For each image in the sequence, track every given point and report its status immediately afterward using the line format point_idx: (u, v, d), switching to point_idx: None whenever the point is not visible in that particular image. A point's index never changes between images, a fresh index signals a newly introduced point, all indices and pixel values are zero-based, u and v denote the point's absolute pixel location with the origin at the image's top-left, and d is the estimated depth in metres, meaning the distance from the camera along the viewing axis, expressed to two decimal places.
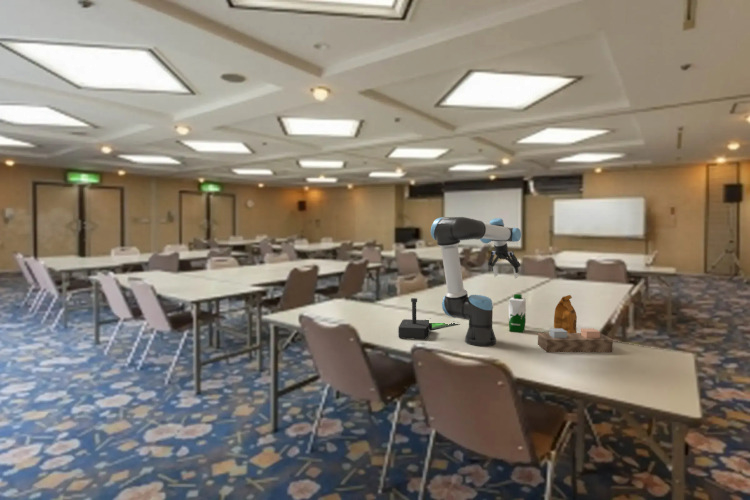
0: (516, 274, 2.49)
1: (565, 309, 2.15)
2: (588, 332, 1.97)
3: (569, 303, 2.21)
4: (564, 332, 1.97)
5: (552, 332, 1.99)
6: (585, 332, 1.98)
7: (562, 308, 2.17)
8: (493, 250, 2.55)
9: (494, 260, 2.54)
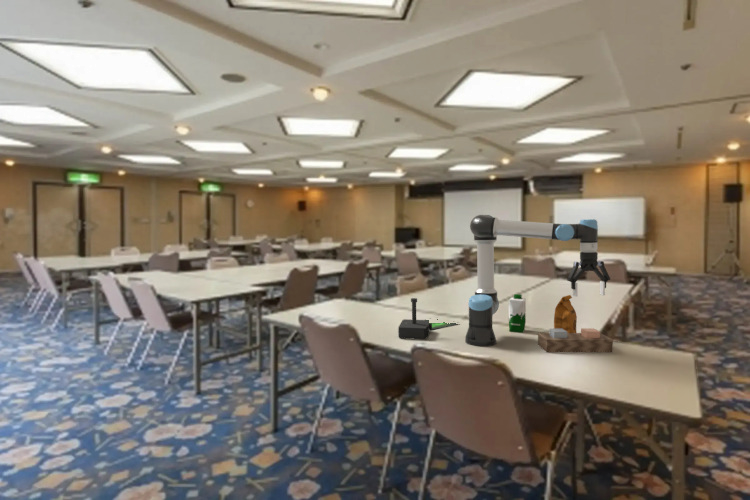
0: (574, 291, 2.01)
1: (565, 309, 2.15)
2: (588, 332, 1.97)
3: (569, 303, 2.21)
4: (564, 332, 1.97)
5: (552, 332, 1.99)
6: (585, 332, 1.98)
7: (562, 308, 2.17)
8: (602, 261, 2.00)
9: None
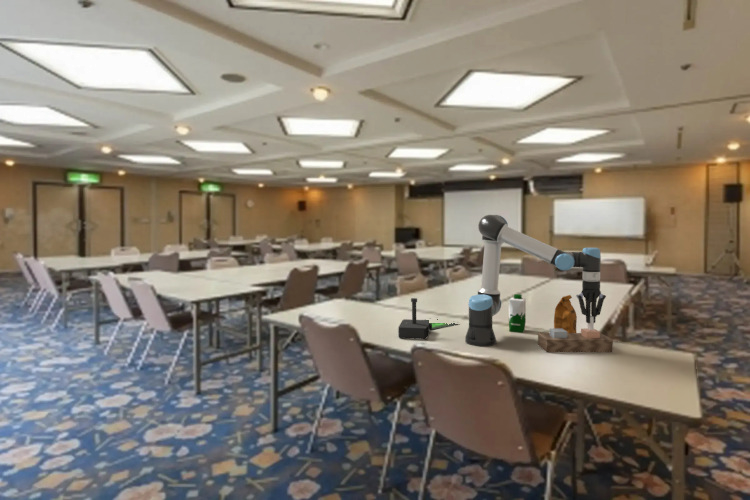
0: (588, 325, 1.99)
1: (565, 309, 2.15)
2: (588, 332, 1.97)
3: (569, 303, 2.21)
4: (564, 332, 1.97)
5: (552, 332, 1.99)
6: (585, 332, 1.98)
7: (562, 308, 2.17)
8: None
9: None
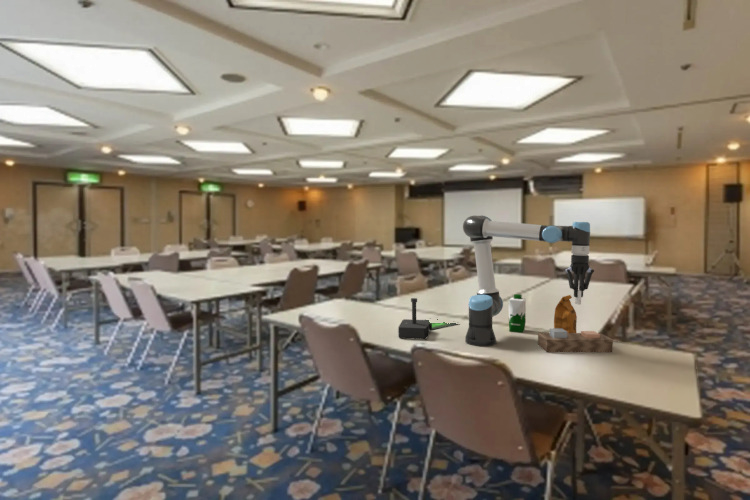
0: (576, 299, 1.99)
1: (565, 309, 2.15)
2: (588, 335, 1.97)
3: (569, 303, 2.21)
4: (564, 332, 1.97)
5: (552, 332, 1.99)
6: (585, 335, 1.98)
7: (562, 308, 2.17)
8: None
9: None
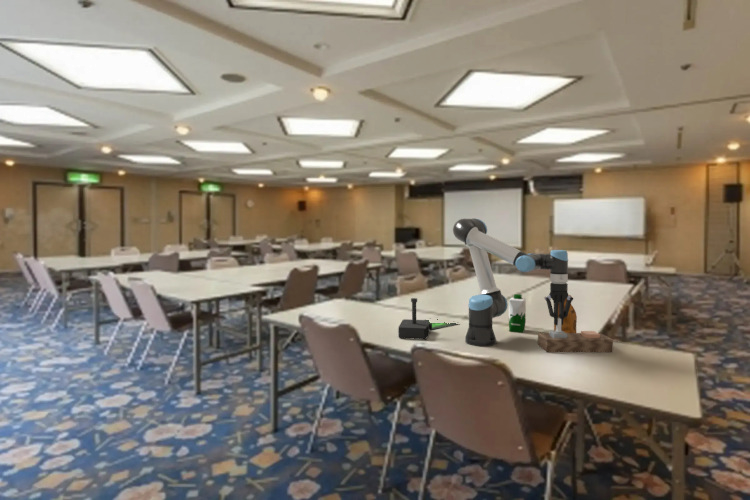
0: (556, 327, 2.00)
1: None
2: (588, 335, 1.97)
3: None
4: (564, 334, 1.97)
5: (552, 334, 1.99)
6: (585, 335, 1.98)
7: None
8: None
9: None
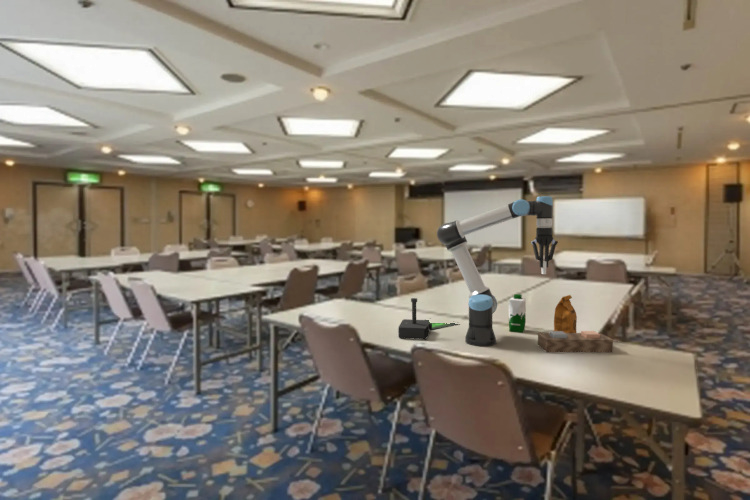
0: (542, 270, 2.12)
1: (565, 309, 2.15)
2: (588, 335, 1.97)
3: (569, 303, 2.21)
4: (564, 335, 1.97)
5: (552, 335, 1.99)
6: (585, 335, 1.98)
7: (562, 308, 2.17)
8: (557, 241, 2.09)
9: None
